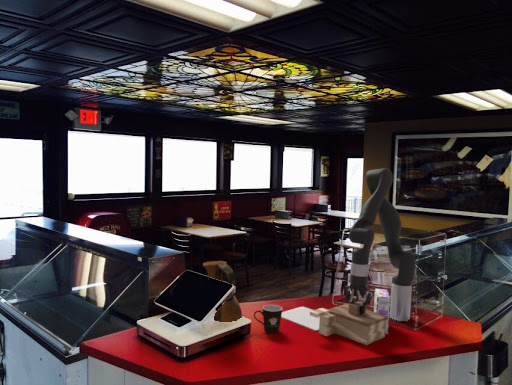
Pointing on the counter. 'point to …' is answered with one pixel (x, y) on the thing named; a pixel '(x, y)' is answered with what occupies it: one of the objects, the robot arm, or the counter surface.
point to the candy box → (382, 304)
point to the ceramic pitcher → (230, 307)
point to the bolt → (319, 312)
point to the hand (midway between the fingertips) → (357, 312)
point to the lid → (357, 314)
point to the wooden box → (351, 329)
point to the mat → (302, 317)
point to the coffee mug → (271, 318)
